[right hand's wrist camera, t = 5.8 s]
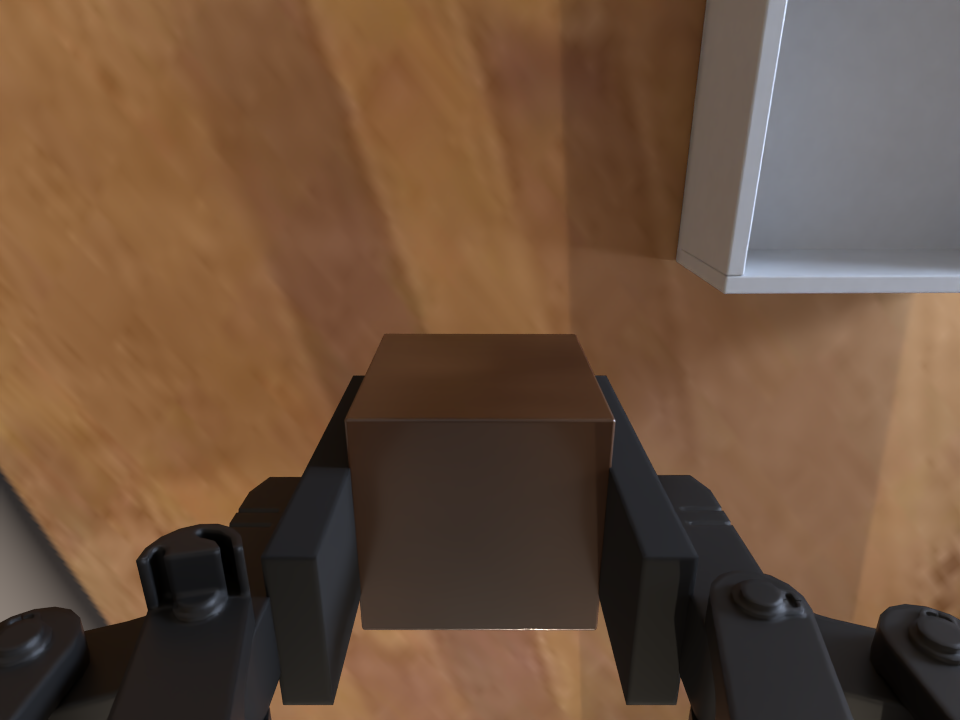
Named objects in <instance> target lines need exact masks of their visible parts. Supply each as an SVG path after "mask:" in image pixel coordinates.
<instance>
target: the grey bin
mask: <svg viewBox="0 0 960 720" xmlns="http://www.w3.org/2000/svg"><path fill="white" fill-rule="evenodd" d="M676 262H678V263H679V264H681V265H682V266H684V267H685V268H687V269H688V270H690V271H691V272H693V273H694V274H696V275H697V276H699V277H700V278H702V279H703V280H705V281H706V282H708V283H709V284H710V285H712V286H713V287H715V288H716V289H718V290H719V291H721V292H722V293H724V294H774V293H960V0H707V2H706V10H705V19H704V27H703V36H702V44H701V53H700V61H699V70H698V78H697V87H696V95H695V104H694V112H693V121H692V129H691V137H690V146H689V154H688V163H687V171H686V180H685V188H684V197H683V205H682V214H681V222H680V231H679V239H678V248H677V256H676Z"/></svg>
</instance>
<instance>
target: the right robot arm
mask: <svg viewBox="0 0 960 720" xmlns="http://www.w3.org/2000/svg"><path fill="white" fill-rule="evenodd" d="M364 377H365V376H353V377H352V379H351V381H350V383H349V385H348V387H347V389H346V391H345V393H344V395H343V397H342V399H341V401H340V403H339V405H338V407H337V409H336V411H335V413H334V414H333V416H332V418H331V420H330V422H329V424H328V426H327V428H326V430H325V432H324V434H323V436H322V438H321V440H320V442H319V444H318V446H317V448H316V450H315V452H314V454H313V456H312V458H311V459H310V461H309V463H308V465H307V467H306V469H305V471H304V473H303V475H302V477H269V478H268V479H267V480H265V481H264V482H263V483H261V484H260V485H258V486H257V487H256V488H254V489H253V490H252V491H250V492H249V494H248V495H247V497H246V499H245V500H244V502H243V503H242V505H241V506H240V508H239V512H238V513H236V514H235V516H234V517H233V519H232V521H231V522H230V526H229V527H228V526H224V525H220V524H198V525H194V526H190V527H185V528H181V529H178V530H176V531H174V532H171V533H169V534H167V535H164V536H162V537H160V538H159V539H157V540H156V541H155V542H153V543H152V544H150V545H149V546H148V547H146V548H145V549H144V551H143V552H142V553H141V555H140V556H139V557H138V559H137V560H136V563H137V567H138V571H139V575H140V579H141V584H142V588H143V592H144V596H145V600H146V604H147V608H148V612H147V615H146V616H144V617H140V618H137V619H134V620H130V621H127V622H123V623H118V624H114V625H109V626H105V627H101V628H96V629H92V630H88V631H84V630H83V626H82V623H81V619H80V617H79V616H78V615H77V614H75V613H74V612H73V611H72V610H70V609H65V608H59V607H49V608H41V609H34V610H30V611H28V612H24V613H22V614H18V615H15V616H12V617H10V618H8V619H6V620H4V621H2V622H1V623H0V720H271V714H270V708H269V706H270V703H271V700H272V697H273V695H274V692H275V689H276V686H277V684H278V681H280V687H281V694H282V700H283V705H333V703H334V699H335V695H336V691H337V688H338V684H339V680H340V676H341V672H342V668H343V664H344V660H345V656H346V652H347V648H348V644H349V640H350V636H351V632H352V629H353V625H354V621H355V617H356V613H357V609H358V605H359V601H360V597H361V588H360V576H359V565H358V553H357V542H356V530H355V518H354V507H353V495H352V484H351V472H350V468H349V467H348V456H347V444H346V432H345V418H346V416H347V414H348V411H349V409H350V407H351V405H352V403H353V401H354V399H355V396H356V394H357V392H358V390H359V388H360V386H361V383H362V381H363V379H364ZM595 377H596V379H597V382H598V384H599V386H600V388H601V390H602V392H603V395H604V397H605V399H606V401H607V403H608V405H609V408H610V410H611V412H612V414H613V416H614V418H615V432H614V444H613V455H612V466H611V468H609V478H608V490H607V502H606V513H605V525H604V536H603V548H602V559H601V571H600V583H599V594H598V595H599V599H600V603H601V607H602V611H603V615H604V618H605V622H606V626H607V630H608V634H609V638H610V642H611V646H612V650H613V654H614V658H615V662H616V666H617V670H618V674H619V678H620V681H621V685H622V689H623V693H624V697H625V701H626V705H676V704H677V697H678V691H679V684H680V678H681V679H682V682H683V685H684V687H685V690H686V693H687V696H688V698H689V701H690V704H691V708H690V714H689V720H960V620H959V619H957V618H955V617H954V616H952V615H950V614H947V613H944V612H941V611H938V610H935V609H932V608H929V607H925V606H917V605H908V604H903V605H897V606H892V607H889V608H887V609H886V610H885V611H884V612H883V613H882V614H881V615H880V617H879V621H878V624H877V628H876V629H875V628H870V627H866V626H861V625H857V624H853V623H848V622H844V621H839V620H835V619H831V618H828V617H824V616H821V615H818V614H815V613H813V611H812V609H811V607H810V606H809V604H808V603H807V601H806V600H805V598H804V597H803V596H802V595H801V594H800V593H799V592H797V591H796V590H795V589H794V588H792V587H791V586H790V585H789V584H787V583H785V582H783V581H781V580H779V579H777V578H775V577H773V576H771V575H767V574H763V572H762V571H761V569H760V567H759V566H758V564H757V563H756V561H755V560H754V558H753V556H752V555H751V553H750V552H749V550H748V549H747V547H746V546H745V544H744V542H743V541H742V539H741V538H740V536H739V535H738V533H737V531H736V530H735V528H734V527H733V525H730V520H729V519H728V517H727V516H726V514H725V513H724V511H721V506H720V505H719V503H718V502H717V500H716V498H715V497H714V495H713V494H712V492H711V491H710V490H709V489H708V488H707V487H705V486H704V485H703V484H701V483H700V482H699V481H697V480H696V479H694V478H693V477H692V476H690V475H657V474H656V472H655V470H654V468H653V466H652V464H651V462H650V460H649V458H648V456H647V455H646V453H645V451H644V449H643V447H642V445H641V443H640V441H639V439H638V437H637V435H636V433H635V431H634V429H633V427H632V425H631V423H630V421H629V419H628V417H627V415H626V413H625V411H624V410H623V408H622V406H621V404H620V402H619V400H618V398H617V396H616V394H615V392H614V390H613V388H612V386H611V384H610V382H609V380H608V378H607V376H595Z"/></svg>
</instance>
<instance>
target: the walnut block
mask: <svg viewBox="0 0 960 720" xmlns="http://www.w3.org/2000/svg"><path fill="white" fill-rule="evenodd" d="M345 432H346V444H347V456H348V467H349V468H350V472H351V484H352V495H353V507H354V518H355V530H356V542H357V553H358V565H359V576H360V588H361V597H360V609H361V620H362V628H363V629H364V630H596V628H597V622H598V610H599V595H598V594H599V583H600V571H601V559H602V548H603V536H604V525H605V513H606V502H607V490H608V478H609V468H611V466H612V455H613V444H614V432H615V418H614V416H613V414H612V412H611V410H610V408H609V405H608V403H607V401H606V399H605V397H604V395H603V392H602V390H601V388H600V386H599V384H598V382H597V379H596V377H595V375H594V373H593V371H592V369H591V366H590V364H589V362H588V360H587V358H586V356H585V353H584V351H583V349H582V347H581V345H580V343H579V340H578V338H577V336H576V335H575V334H384V336H383V338H382V340H381V342H380V344H379V347H378V349H377V351H376V353H375V355H374V357H373V360H372V362H371V364H370V366H369V368H368V370H367V373H366V375H365V377H364V379H363V381H362V383H361V386H360V388H359V390H358V392H357V394H356V396H355V399H354V401H353V403H352V405H351V407H350V409H349V411H348V414H347V416H346V418H345Z"/></svg>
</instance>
